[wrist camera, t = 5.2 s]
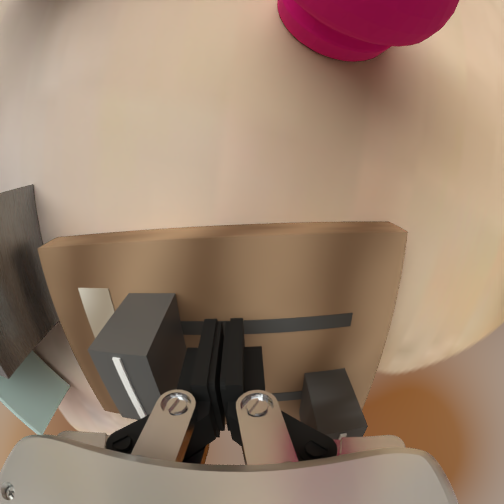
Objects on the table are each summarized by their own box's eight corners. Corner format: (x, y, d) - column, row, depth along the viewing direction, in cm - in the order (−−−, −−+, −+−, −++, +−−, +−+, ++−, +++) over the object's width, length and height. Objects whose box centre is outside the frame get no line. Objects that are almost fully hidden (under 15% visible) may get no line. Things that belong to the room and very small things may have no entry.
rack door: (71, 384, 17) (41, 436, 11) (65, 390, 18) (37, 439, 11) (-3, 306, 15) (-46, 344, 9) (-6, 317, 15) (-44, 354, 9)
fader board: (388, 221, 13) (468, 268, 7) (354, 391, 17) (379, 459, 11) (56, 237, 13) (-17, 282, 7) (112, 393, 17) (86, 454, 11)
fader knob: (175, 293, 12) (145, 357, 8) (188, 358, 13) (172, 426, 9) (128, 293, 12) (86, 351, 8) (147, 356, 13) (121, 418, 9)
